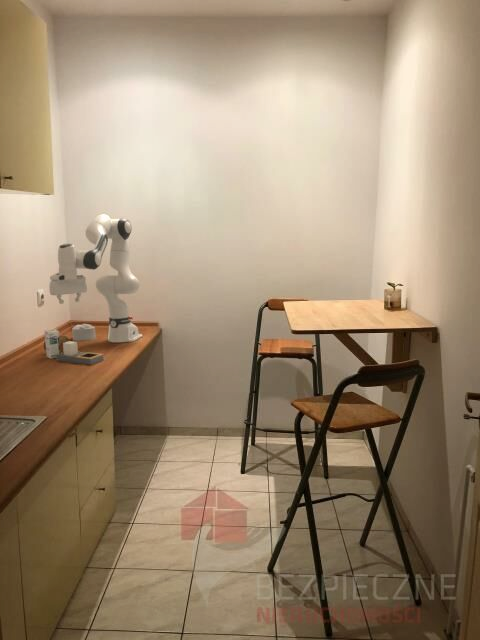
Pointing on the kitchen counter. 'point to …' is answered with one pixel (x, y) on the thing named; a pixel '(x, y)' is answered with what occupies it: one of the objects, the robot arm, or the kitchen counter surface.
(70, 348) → the square peg
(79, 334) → the lumpy-topped squat cylinder
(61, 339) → the tin
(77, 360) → the socket rail
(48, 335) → the syrup box
